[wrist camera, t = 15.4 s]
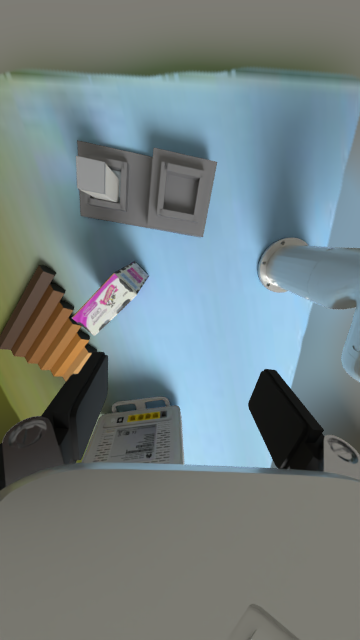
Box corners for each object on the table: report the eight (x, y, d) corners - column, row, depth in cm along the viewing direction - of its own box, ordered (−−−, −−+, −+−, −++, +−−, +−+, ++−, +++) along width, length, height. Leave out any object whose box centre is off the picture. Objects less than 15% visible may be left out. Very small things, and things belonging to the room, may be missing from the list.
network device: (107, 422, 63) (81, 497, 45) (99, 404, 60) (68, 476, 41) (181, 413, 63) (186, 483, 45) (178, 393, 60) (182, 462, 41)
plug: (119, 179, 36) (104, 162, 27) (118, 203, 37) (104, 193, 29) (97, 175, 35) (76, 155, 27) (98, 199, 37) (77, 188, 29)
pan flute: (44, 263, 43) (3, 338, 49) (34, 265, 39) (-8, 345, 46) (135, 325, 50) (88, 382, 57) (133, 331, 47) (83, 391, 54)
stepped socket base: (211, 171, 37) (219, 157, 30) (199, 237, 41) (204, 236, 35) (79, 142, 34) (58, 120, 28) (82, 216, 39) (64, 211, 32)
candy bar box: (133, 259, 43) (114, 271, 28) (149, 275, 44) (139, 294, 29) (102, 292, 45) (69, 318, 30) (118, 306, 47) (94, 338, 32)
